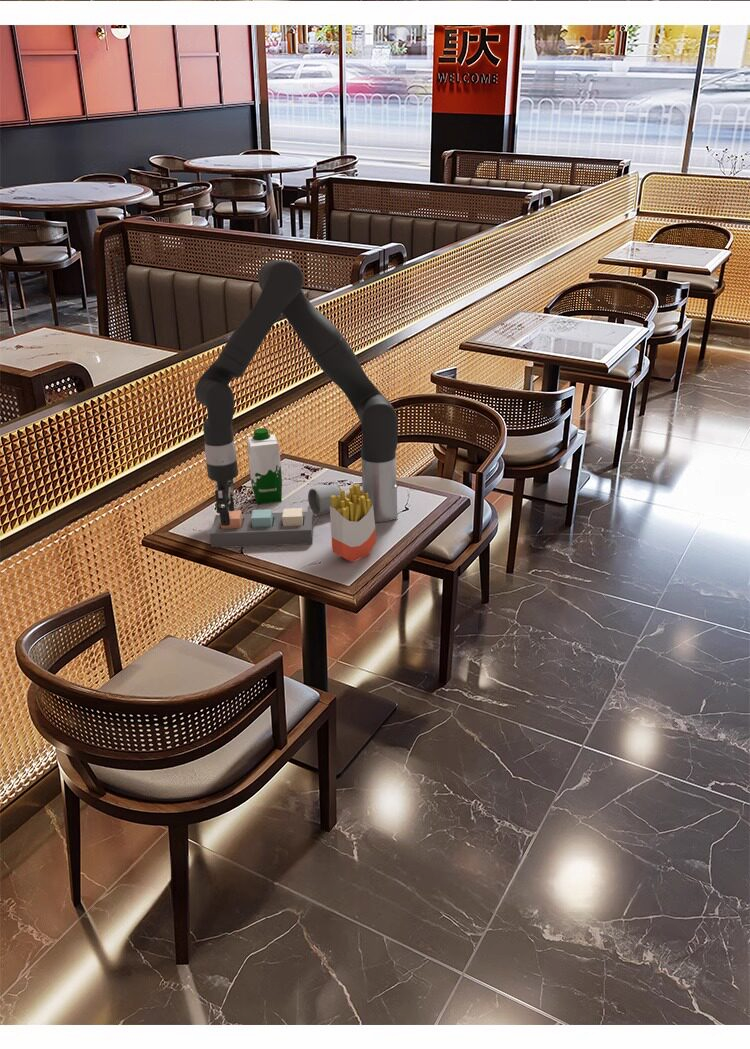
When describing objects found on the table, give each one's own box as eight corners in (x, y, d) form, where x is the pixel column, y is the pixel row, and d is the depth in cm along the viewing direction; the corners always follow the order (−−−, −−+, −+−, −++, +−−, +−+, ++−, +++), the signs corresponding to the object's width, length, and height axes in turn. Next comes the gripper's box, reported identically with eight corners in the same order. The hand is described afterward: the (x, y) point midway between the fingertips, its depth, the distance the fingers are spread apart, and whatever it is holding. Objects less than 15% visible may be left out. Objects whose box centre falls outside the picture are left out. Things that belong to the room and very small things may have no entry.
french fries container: (377, 551, 217) (375, 486, 209) (344, 566, 210) (341, 499, 202) (364, 545, 220) (362, 480, 212) (332, 560, 213) (328, 494, 205)
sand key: (303, 519, 227) (302, 508, 226) (302, 528, 223) (301, 516, 221) (284, 520, 227) (283, 508, 226) (283, 528, 223) (282, 517, 221)
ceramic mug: (346, 512, 238) (345, 486, 235) (321, 519, 234) (319, 493, 231) (327, 500, 246) (326, 475, 243) (302, 507, 242) (300, 481, 239)
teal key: (273, 520, 227) (272, 509, 226) (271, 529, 223) (270, 517, 221) (254, 521, 227) (253, 509, 226) (252, 530, 223) (251, 518, 221)
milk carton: (280, 490, 253) (275, 426, 244) (285, 502, 245) (279, 436, 236) (251, 494, 251) (244, 429, 242) (254, 506, 243) (247, 440, 234)
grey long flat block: (314, 524, 232) (313, 511, 230) (312, 543, 222) (311, 529, 220) (217, 528, 231) (215, 514, 230) (211, 547, 221) (209, 533, 220)
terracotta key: (242, 522, 227) (241, 510, 226) (240, 530, 223) (239, 518, 221) (224, 522, 227) (222, 511, 226) (221, 531, 223) (220, 519, 221)
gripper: (232, 469, 205) (239, 529, 213) (239, 447, 218) (245, 505, 225) (201, 470, 205) (209, 530, 213) (210, 448, 218) (217, 506, 225)
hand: (227, 517), depth 219 cm, fingers open, 8 cm apart
